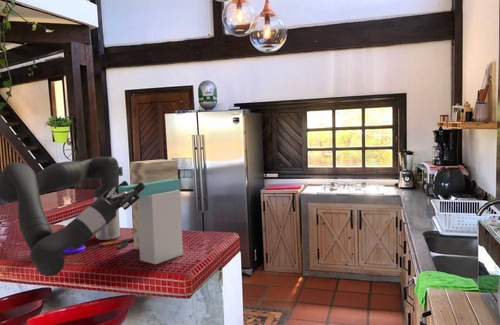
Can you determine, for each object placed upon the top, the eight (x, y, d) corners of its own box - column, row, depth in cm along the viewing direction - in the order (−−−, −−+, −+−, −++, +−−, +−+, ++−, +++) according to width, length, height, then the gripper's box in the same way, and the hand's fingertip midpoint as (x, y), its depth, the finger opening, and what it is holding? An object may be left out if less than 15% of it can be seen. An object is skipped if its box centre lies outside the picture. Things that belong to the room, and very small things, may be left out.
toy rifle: (79, 254, 139) (74, 247, 148) (79, 258, 139) (74, 251, 148) (170, 238, 157) (161, 232, 166) (170, 241, 157) (161, 236, 166)
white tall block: (140, 260, 134) (136, 193, 132) (167, 250, 143) (164, 188, 141) (155, 264, 129) (151, 195, 127) (183, 254, 138) (180, 190, 136)
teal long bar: (118, 197, 124) (118, 186, 124) (172, 188, 141) (172, 178, 141) (126, 198, 122) (125, 187, 122) (180, 189, 139) (180, 179, 139)
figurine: (59, 257, 143) (55, 230, 141) (68, 248, 151) (65, 223, 149) (81, 256, 143) (77, 229, 141) (89, 247, 151) (86, 222, 149)
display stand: (134, 248, 147) (129, 162, 145) (163, 239, 158) (160, 159, 156) (151, 253, 141) (146, 163, 138) (180, 243, 152) (177, 160, 149)
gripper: (102, 209, 110) (143, 175, 120) (76, 205, 119) (116, 173, 129) (115, 230, 113) (154, 194, 124) (89, 224, 122) (127, 191, 133)
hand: (134, 183), depth 126 cm, fingers open, 8 cm apart
